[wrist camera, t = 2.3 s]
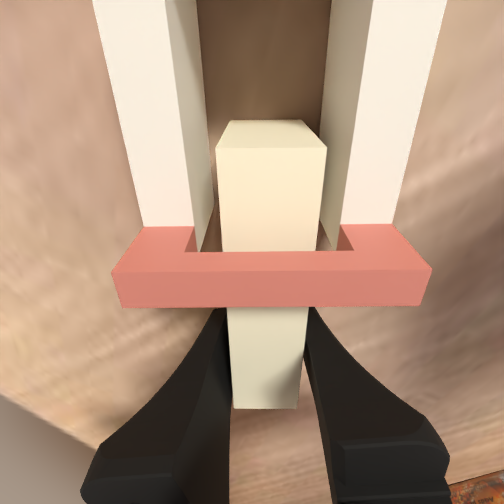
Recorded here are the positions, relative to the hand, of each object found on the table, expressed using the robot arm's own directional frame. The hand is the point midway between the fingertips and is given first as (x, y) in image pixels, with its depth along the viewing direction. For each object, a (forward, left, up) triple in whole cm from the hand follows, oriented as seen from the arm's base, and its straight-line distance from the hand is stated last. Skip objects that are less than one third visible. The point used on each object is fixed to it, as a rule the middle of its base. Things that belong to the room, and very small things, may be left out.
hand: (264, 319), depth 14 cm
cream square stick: (0, -3, -1) cm, 3 cm away
